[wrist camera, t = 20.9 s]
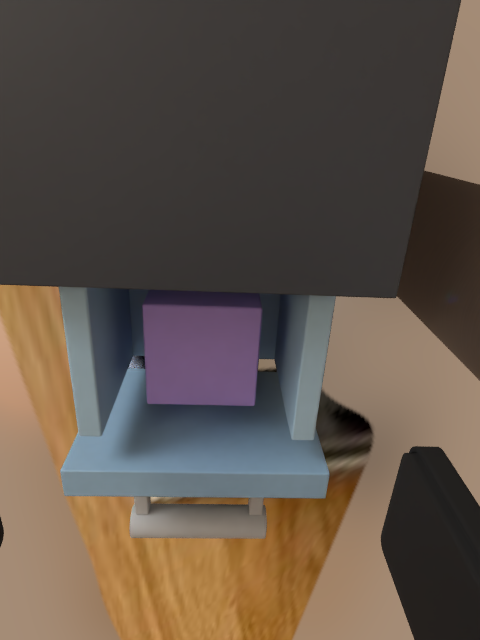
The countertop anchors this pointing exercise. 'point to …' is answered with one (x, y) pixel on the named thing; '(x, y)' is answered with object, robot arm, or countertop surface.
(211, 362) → the lavender cube
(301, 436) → the drawer
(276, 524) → the countertop surface
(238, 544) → the countertop surface
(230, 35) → the compartment
